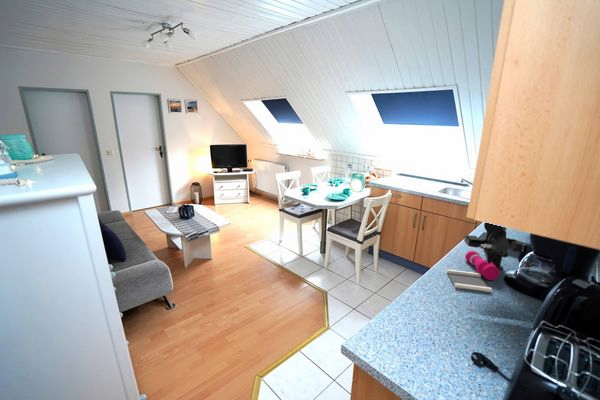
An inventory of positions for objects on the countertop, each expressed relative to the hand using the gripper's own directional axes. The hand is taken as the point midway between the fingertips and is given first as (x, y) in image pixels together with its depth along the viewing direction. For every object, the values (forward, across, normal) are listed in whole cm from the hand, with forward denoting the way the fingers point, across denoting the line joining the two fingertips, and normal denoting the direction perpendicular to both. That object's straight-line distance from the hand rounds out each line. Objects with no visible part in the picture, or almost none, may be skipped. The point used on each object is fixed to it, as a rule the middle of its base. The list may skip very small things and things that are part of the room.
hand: (488, 262), depth 111 cm
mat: (+10, -6, 0) cm, 12 cm away
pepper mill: (+6, +4, +3) cm, 8 cm away
